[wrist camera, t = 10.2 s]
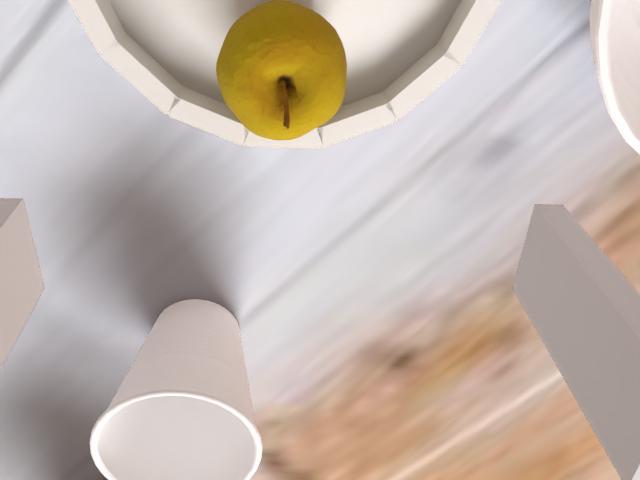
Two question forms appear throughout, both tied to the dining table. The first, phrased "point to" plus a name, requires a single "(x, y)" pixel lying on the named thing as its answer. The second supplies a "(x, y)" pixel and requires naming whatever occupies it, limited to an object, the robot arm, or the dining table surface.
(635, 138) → the bowl
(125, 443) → the cup
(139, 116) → the dining table surface
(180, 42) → the ring tray
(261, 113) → the apple
